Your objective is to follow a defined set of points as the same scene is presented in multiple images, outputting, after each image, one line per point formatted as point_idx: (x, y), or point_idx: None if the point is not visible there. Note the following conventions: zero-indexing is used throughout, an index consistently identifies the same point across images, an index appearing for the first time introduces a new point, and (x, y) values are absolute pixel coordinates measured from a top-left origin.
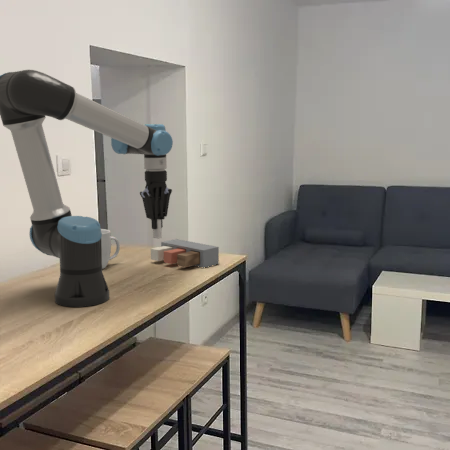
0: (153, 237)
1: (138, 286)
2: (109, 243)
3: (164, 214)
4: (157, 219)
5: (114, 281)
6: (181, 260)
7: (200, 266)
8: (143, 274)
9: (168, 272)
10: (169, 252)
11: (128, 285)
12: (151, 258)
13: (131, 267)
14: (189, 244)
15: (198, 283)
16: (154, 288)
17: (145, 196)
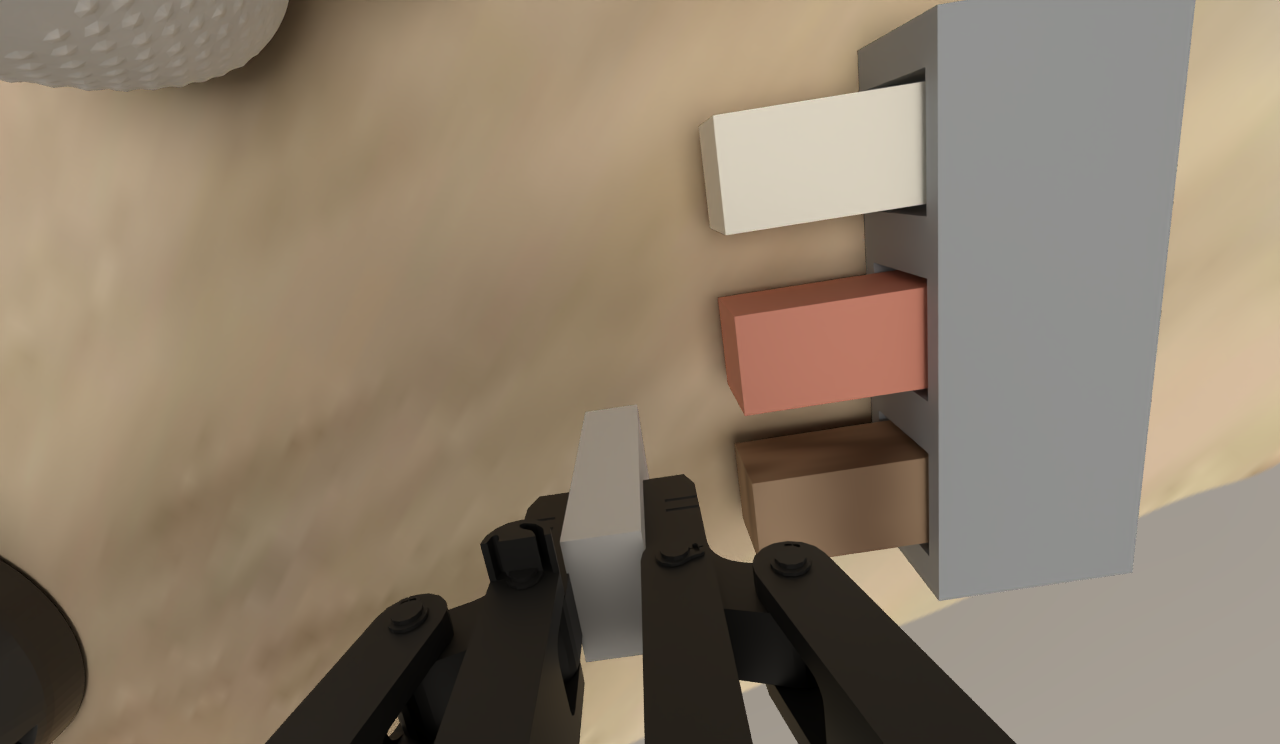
0: (586, 417)
1: (307, 617)
2: (134, 35)
3: (772, 695)
4: (620, 604)
5: (211, 447)
6: (748, 506)
7: None
8: (458, 411)
9: None
10: (748, 385)
11: (261, 570)
12: (700, 136)
13: (479, 169)
14: (1047, 335)
15: (622, 740)
16: None
17: None
